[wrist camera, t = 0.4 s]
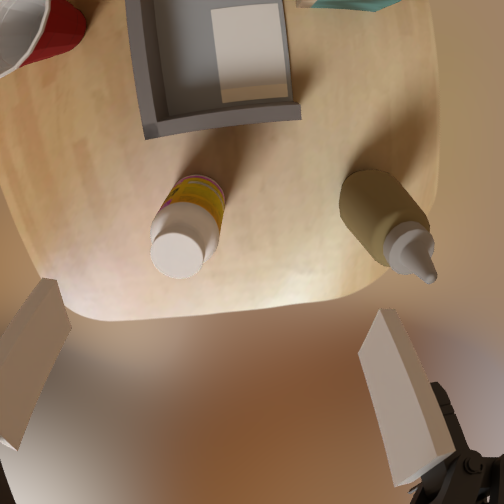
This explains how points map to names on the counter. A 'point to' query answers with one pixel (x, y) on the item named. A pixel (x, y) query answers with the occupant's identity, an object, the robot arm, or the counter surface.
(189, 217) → the supplement bottle
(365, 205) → the squeeze bottle
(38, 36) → the plastic cup
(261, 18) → the corner tray
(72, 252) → the counter surface
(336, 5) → the teal block
